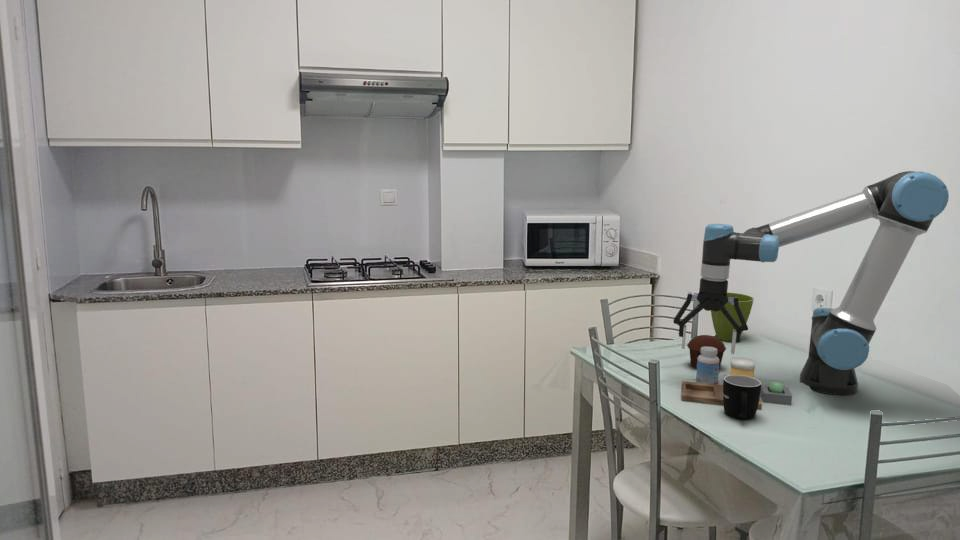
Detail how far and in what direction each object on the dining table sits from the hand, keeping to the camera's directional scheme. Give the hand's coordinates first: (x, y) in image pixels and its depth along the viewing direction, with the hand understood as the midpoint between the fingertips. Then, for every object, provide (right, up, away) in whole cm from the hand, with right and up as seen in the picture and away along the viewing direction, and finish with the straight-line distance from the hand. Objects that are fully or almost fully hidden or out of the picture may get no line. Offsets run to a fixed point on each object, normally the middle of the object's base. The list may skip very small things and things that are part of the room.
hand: (707, 350), depth 189 cm
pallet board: (0, -13, -10) cm, 16 cm away
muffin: (+6, -8, +19) cm, 21 cm away
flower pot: (+25, -2, +50) cm, 56 cm away
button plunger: (+15, -11, -11) cm, 21 cm away
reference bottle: (+5, -12, -12) cm, 17 cm away
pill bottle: (0, -11, +2) cm, 11 cm away
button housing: (+15, -13, -11) cm, 22 cm away
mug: (0, -15, -23) cm, 28 cm away
